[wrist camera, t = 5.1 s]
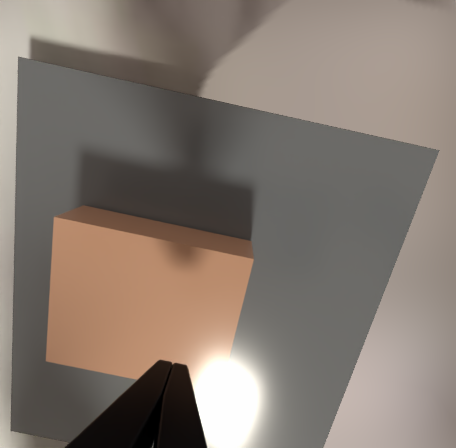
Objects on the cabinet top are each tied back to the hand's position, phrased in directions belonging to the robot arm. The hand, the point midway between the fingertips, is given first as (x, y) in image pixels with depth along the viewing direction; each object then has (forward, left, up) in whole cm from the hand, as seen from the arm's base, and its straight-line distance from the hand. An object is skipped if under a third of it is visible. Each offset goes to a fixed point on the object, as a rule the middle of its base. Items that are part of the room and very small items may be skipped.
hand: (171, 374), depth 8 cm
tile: (-2, 0, -4) cm, 4 cm away
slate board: (0, +1, -6) cm, 6 cm away
